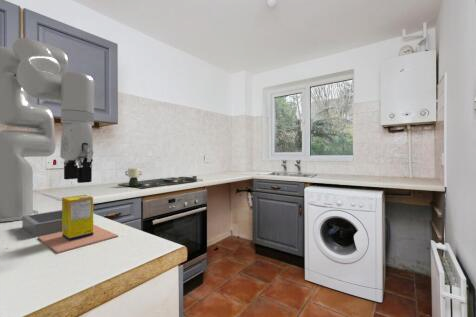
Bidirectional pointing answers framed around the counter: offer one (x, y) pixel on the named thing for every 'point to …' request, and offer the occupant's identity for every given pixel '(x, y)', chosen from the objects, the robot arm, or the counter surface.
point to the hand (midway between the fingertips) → (77, 180)
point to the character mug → (133, 176)
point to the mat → (75, 240)
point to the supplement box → (77, 217)
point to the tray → (43, 223)
